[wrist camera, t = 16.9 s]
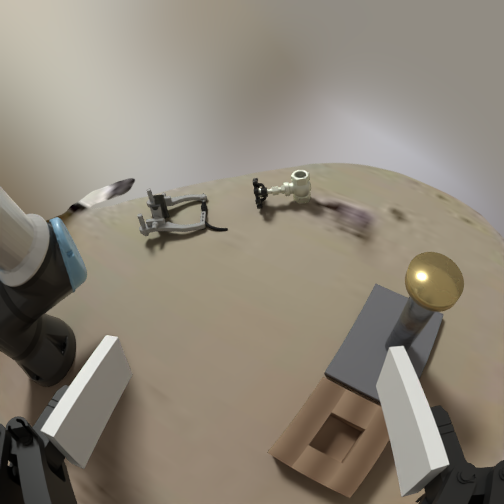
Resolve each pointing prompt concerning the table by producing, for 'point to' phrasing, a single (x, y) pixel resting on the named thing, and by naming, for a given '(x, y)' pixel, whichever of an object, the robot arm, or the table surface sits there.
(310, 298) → the table surface
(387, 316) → the mat
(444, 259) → the brass topped pillar
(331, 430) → the eye block
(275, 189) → the valve
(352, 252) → the table surface
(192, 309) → the table surface
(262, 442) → the table surface
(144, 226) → the bike brake
